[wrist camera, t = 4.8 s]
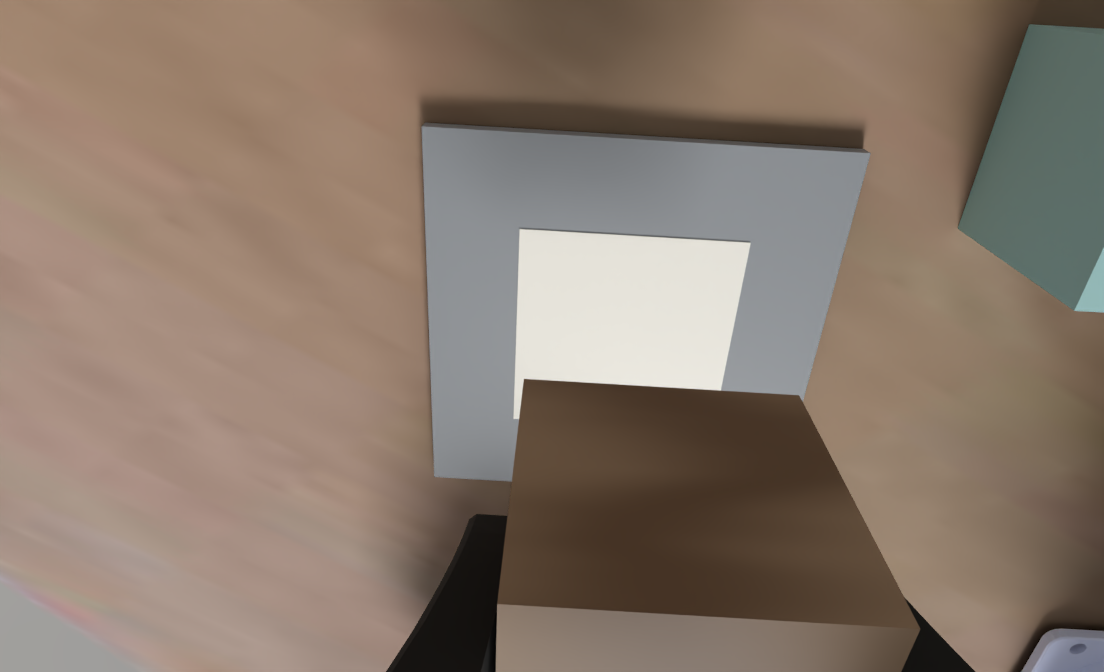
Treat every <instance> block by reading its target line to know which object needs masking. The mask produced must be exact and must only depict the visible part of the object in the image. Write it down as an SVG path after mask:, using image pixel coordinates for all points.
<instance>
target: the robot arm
mask: <svg viewBox="0 0 1104 672" xmlns="http://www.w3.org/2000/svg"><path fill="white" fill-rule="evenodd" d="M507 517H508V516H499V515H481V514H476V515H475V516H473V517H472V518H471V519H469V522H468V524H467V527H466V530H465V533H464V535H463V538H462V540H461V542H460V545H459V547H458V549H457V551H456V553H455V555H454V558H453V560H452V562H451V564H450V566H449V568H448V570H447V571H446V573H445V575H444V577H443V579H442V581H441V583H440V585H439V587H438V588H437V590H436V592H435V594H434V595H433V597H432V599H431V601H430V602H429V604H428V606H427V608H426V609H425V611H424V613H423V614H422V616H421V618H420V620H419V621H418V623H417V625H416V626H415V628H414V630H413V631H412V633H411V635H410V636H409V638H408V639H407V641H406V642H405V644H404V645H403V647H402V648H401V650H400V651H399V653H398V654H397V656H396V657H395V659H394V660H393V662H392V664H391V665H390V667H389V668H388V670H387V671H386V672H496V635H497V602H498V593H499V585H500V576H501V568H502V559H503V551H504V542H505V534H506V525H507ZM905 600H906V599H905ZM906 602H907V604H908V606H909V608H910V610H911V612H912V614H913V616H914V618H915V619H916V621H917V623H918V625H919V627H920V631H919V633H918V636H917V638H916V640H915V642H914V644H913V647H912V649H911V651H910V653H909V655H908V658H907V660H906V662H905V664H904V666H903V669H902V671H901V672H975V671H974V670H973V669H972V668H971V667H970V666H969V665H968V664H967V663H966V662H965V661H964V660H963V659H962V658H961V657H960V656H959V655H958V654H957V653H956V652H955V651H954V650H953V649H952V648H951V647H950V645H949V644H948V643H947V642H946V641H945V640H944V639H943V638H942V637H941V636H940V635H939V634H938V633H937V632H936V631H935V630H934V629H933V628H932V627H931V626H930V624H929V623H928V622H927V621H926V620H925V619H924V618H923V617H922V616H921V615H920V614H919V613H918V612H917V611H916V609H915V608H914V607H913V606H912V605H911V604H910V603H909V602H908V601H907V600H906ZM1021 672H1104V631H1096V630H1079V629H1062V628H1060V629H1053V630H1050V631H1048V632H1046V633H1045V634H1044V635H1043V636H1042V637H1041V639H1040V641H1039V642H1038V644H1037V646H1036V648H1035V649H1034V651H1033V653H1032V654H1031V656H1030V658H1029V659H1028V661H1027V663H1026V665H1025V666H1024V668H1023V670H1022V671H1021Z"/></svg>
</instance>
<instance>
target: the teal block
mask: <svg viewBox="0 0 1104 672" xmlns="http://www.w3.org/2000/svg"><path fill="white" fill-rule="evenodd" d="M958 229H959V230H960V231H962V232H963V233H965V234H966V235H967V236H969V237H970V238H972V239H973V240H975V241H976V242H977V243H979V244H980V245H982V246H983V247H985V248H986V249H987V250H989V251H990V252H992V253H993V254H994V255H996V256H997V257H999V258H1000V259H1002V260H1003V261H1004V262H1006V263H1007V264H1009V265H1010V266H1012V267H1013V268H1014V269H1016V270H1017V271H1019V272H1020V273H1021V274H1023V275H1024V276H1026V277H1027V278H1029V279H1030V280H1031V281H1033V282H1034V283H1036V284H1037V285H1039V286H1040V287H1041V288H1043V289H1044V290H1046V291H1047V292H1048V293H1050V294H1051V295H1053V296H1054V297H1056V298H1057V299H1058V300H1060V301H1061V302H1063V303H1064V304H1066V305H1067V306H1068V307H1070V308H1071V309H1073V310H1074V311H1087V312H1104V29H1101V28H1084V27H1067V26H1050V25H1034V24H1029V26H1028V29H1027V32H1026V35H1025V38H1024V41H1023V44H1022V46H1021V49H1020V52H1019V55H1018V58H1017V61H1016V64H1015V66H1014V69H1013V72H1012V75H1011V78H1010V81H1009V84H1008V86H1007V89H1006V92H1005V95H1004V98H1003V101H1002V103H1001V106H1000V109H999V112H998V115H997V118H996V121H995V123H994V126H993V129H992V132H991V135H990V138H989V141H988V143H987V146H986V149H985V152H984V155H983V158H982V161H981V163H980V166H979V169H978V172H977V175H976V178H975V180H974V183H973V186H972V189H971V192H970V195H969V198H968V200H967V203H966V206H965V209H964V212H963V215H962V218H961V220H960V223H959V226H958Z"/></svg>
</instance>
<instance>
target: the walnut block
mask: <svg viewBox="0 0 1104 672" xmlns="http://www.w3.org/2000/svg"><path fill="white" fill-rule="evenodd" d="M919 631H920V627H919V625H918V623H917V621H916V619H915V618H914V616H913V614H912V612H911V610H910V608H909V606H908V604H907V602H906V600H905V598H904V596H903V594H902V593H901V591H900V589H899V587H898V585H897V583H896V581H895V579H894V577H893V575H892V573H891V571H890V569H889V567H888V566H887V564H886V562H885V560H884V558H883V556H882V554H881V552H880V550H879V548H878V546H877V544H876V542H875V541H874V539H873V537H872V535H871V533H870V531H869V529H868V527H867V525H866V523H865V521H864V519H863V517H862V515H861V514H860V512H859V510H858V508H857V506H856V504H855V502H854V500H853V498H852V496H851V494H850V492H849V490H848V489H847V487H846V485H845V483H844V481H843V479H842V477H841V475H840V473H839V471H838V469H837V467H836V465H835V463H834V462H833V460H832V458H831V456H830V454H829V452H828V450H827V448H826V446H825V444H824V442H823V440H822V438H821V436H820V435H819V433H818V431H817V429H816V427H815V425H814V423H813V421H812V419H811V417H810V415H809V413H808V411H807V410H806V408H805V406H804V404H803V402H802V400H801V398H800V396H799V395H787V394H770V393H753V392H737V391H720V390H703V389H686V388H669V387H653V386H636V385H619V384H602V383H586V382H569V381H552V380H535V379H524V382H523V390H522V398H521V407H520V415H519V424H518V432H517V441H516V449H515V458H514V466H513V475H512V483H511V492H510V500H509V508H508V517H507V525H506V534H505V542H504V551H503V559H502V568H501V576H500V585H499V593H498V602H497V635H496V672H901V671H902V669H903V666H904V664H905V662H906V660H907V658H908V655H909V653H910V651H911V649H912V647H913V644H914V642H915V640H916V638H917V636H918V633H919Z"/></svg>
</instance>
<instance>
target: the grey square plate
mask: <svg viewBox="0 0 1104 672" xmlns="http://www.w3.org/2000/svg"><path fill="white" fill-rule="evenodd" d="M422 150H423V178H424V206H425V233H426V261H427V288H428V316H429V344H430V371H431V399H432V427H433V454H434V477H443V478H461V479H478V480H495V481H512V475H513V466H514V458H515V449H516V441H517V432H518V424H519V415H520V407H521V398H522V390H523V382H524V379H535V380H552V381H569V382H586V383H602V384H619V385H636V386H653V387H669V388H686V389H703V390H720V391H737V392H753V393H770V394H787V395H799V396H800V398H801V400H802V402H803V399H804V395H805V392H806V388H807V384H808V381H809V377H810V373H811V370H812V366H813V362H814V359H815V355H816V351H817V348H818V344H819V340H820V337H821V333H822V329H823V326H824V322H825V318H826V315H827V311H828V307H829V304H830V300H831V296H832V293H833V289H834V285H835V282H836V278H837V274H838V271H839V267H840V263H841V260H842V256H843V252H844V249H845V245H846V241H847V238H848V234H849V231H850V227H851V223H852V220H853V216H854V212H855V209H856V205H857V201H858V198H859V194H860V190H861V187H862V183H863V179H864V176H865V172H866V168H867V165H868V161H869V157H870V154H871V153H869V152H868V151H866V150H865V149H856V148H839V147H823V146H806V145H789V144H773V143H756V142H739V141H723V140H706V139H689V138H673V137H656V136H639V135H623V134H606V133H589V132H573V131H556V130H539V129H523V128H506V127H489V126H473V125H456V124H439V123H424V124H423V125H422Z"/></svg>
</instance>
